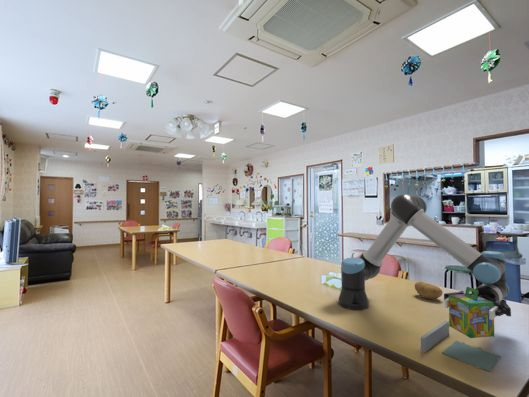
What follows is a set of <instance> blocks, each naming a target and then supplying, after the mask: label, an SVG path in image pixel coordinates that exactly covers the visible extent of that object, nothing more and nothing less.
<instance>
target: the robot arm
mask: <svg viewBox="0 0 529 397" xmlns="http://www.w3.org/2000/svg"><path fill="white" fill-rule="evenodd" d="M427 208H428V206H427V202H426V200H425V199H424V198H423V197H422V196H419V195H417V194H405V193H404V194H402V193H401V194H398V195H397V196H395V197H394V198H393V200H392V201H391V203H390V210H391V212H390V214H391V217H390V219H389V220H388V222H386V225H384V227H383V228H382V229H381V231H380V233H379V234H378V236H377V237H376V239H374V241H373V242H372V244H371V246H370V247H369V248H368V250H364V251H362V253H361V254H360V256H358V257H346V258H344V259H342V261H341V262H340V263H341V266H340V272H341V276H340V277H341V290H340V293H339V296H338V306H340V307H342V308H345V309H348V310H355V311H361V310H366V309H368V308H369V307H370V301H369V299H368V295H367V293H366V281H368V280H370V279H371V280H372V279H373V278H375V277H377V276H378V275H379V273H380V271H381V267H382V266H383V259H385V257H386V256H387V255H388V253H389V252H390V250H392V248H393V246H394V245H395V244H396V242H398V240H399V239H400V237H401V236H402V234H403V233H404V232H405V231H406V229H407V228H408V227H413V228H414V229H416V231H418V232H419V233H420V234H422V235H423V236H424V237H426V238H427V239H428V240H430V241H431V242H432V243H434V244H435V245H436V246H437V247H438V248H440V249H441V250H443V251H444V252H446V253H447V254H448V255H449V256H450V257H452V259H454V260H456V261H457V262H458V263H459V264H461V265H462V266H463V267H465V268H466V269H468V270H469V272H471V273H472V274H473V276H474V278H476V280H477V281H478V282H480V283H482V284H480V285H479V286H477V287H476V288H475V289H476V290H478V291H479V294H478V296H479V297H481V298H484V299H487V300H489V301H491V302H493V303H494V307H493V308H492V309H491V310H489V319H490V320H493V319H494V320H495V318H496V317H501V316H504V315H505V316H506V317H512V310H511V307H510V305H509V304H508V303H507V300H506V298H507V296H508V295H509V293H510V287H509V285H508V284H507V279H506V278H507V277H506V276H507V275H506V274H507V273H506V272H507V271H506V256H505V254H504V253H503V252H500V251H496V250H495V251H492V250H484V251H482V252H480V251H478V250H477V249H476V248H474V247H472V246H471V245H469V244H468V243H467V242H466V241H464V240H463V239H462V238H460V237H458V236H457V235H456V234H454V233H453V232H452V231H450V230H448V229H447V228H446V227H445V226H443V225H442V224H440V223H439V222H437V221H436V220H435V219H433V218H432V217H431V216H429V215H428V214H427V213H426V212H427ZM454 294H465V291H463V290H460V291H455V292H454V291H452V292H447V293H443V301H444V309H449V295H454ZM469 294H473V295H474V292H472V291H471V293H470V292H469Z"/></svg>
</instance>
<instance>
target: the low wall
mask: <svg viewBox="0 0 529 397" xmlns="http://www.w3.org/2000/svg"><path fill="white" fill-rule="evenodd" d="M449 335H450V326H449V320H448V321H447V320H444V321H442V322H441V323H440V324H438V325H437V326H435V327H434V328H432V329H431V330H429V331H427V332H426V333H424V334H423V335H421V336H420V352H421V351H422V353H424V354H425V353H427V350H428V351H429V350H430V349H432V348H433V347H435V344H436V345H437V344H438V343H440V342H441V341H442V340H443V339H445V338H446V337H447V336H449Z"/></svg>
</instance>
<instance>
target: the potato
mask: <svg viewBox="0 0 529 397" xmlns="http://www.w3.org/2000/svg"><path fill="white" fill-rule="evenodd" d="M414 290H415V291H416V292H417V294H418V295H420V296H421V297H422V298H424V299H427V300H428V299H429V300H437V299H439V298H440V297H442V296H443V294H444V292H443V290H442V289H441V288H440V286H437V285H433V284H430V283H428V282H423V281H418V282H416V283H414Z"/></svg>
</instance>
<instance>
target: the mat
mask: <svg viewBox="0 0 529 397" xmlns="http://www.w3.org/2000/svg"><path fill="white" fill-rule="evenodd" d="M441 353H442V354H443V355H446V356H448V357H450V358H453V359H456V360H458V361H461V362H463V363H466V364H469V365H471V366H473V365H474V367H476V366H477V367H476V368H478V367H479V368H478V369H482V370H483V369H484V371H486V372H488V371H490V372H491V370H492V369H493V368H494V367H495V365H497V363H498V362H499V361H500V359H501V357H502V356H501V355H499V354H497V353H494V352H491V351H488V350H485V349H481V348H479V347H476V346H474V345H470V344H467V343H464V342H461V341H459V340H455V341H454V342H453V343H451V345H449V346H448V347H447V348H445V349H444V350H443V351H442V352H441Z"/></svg>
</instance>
